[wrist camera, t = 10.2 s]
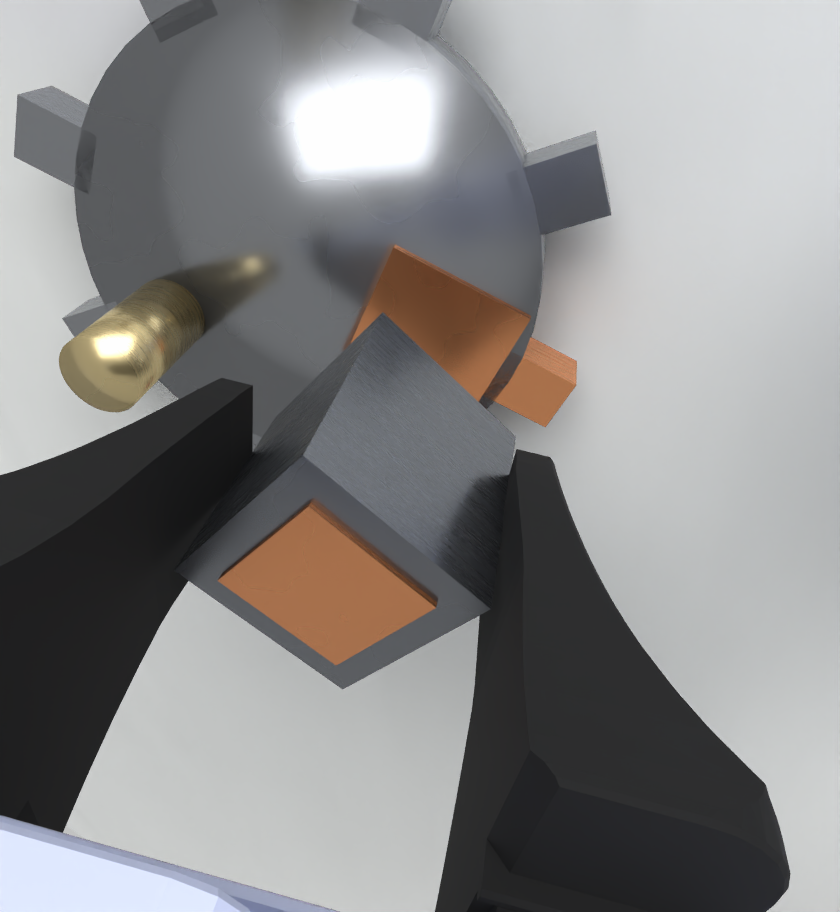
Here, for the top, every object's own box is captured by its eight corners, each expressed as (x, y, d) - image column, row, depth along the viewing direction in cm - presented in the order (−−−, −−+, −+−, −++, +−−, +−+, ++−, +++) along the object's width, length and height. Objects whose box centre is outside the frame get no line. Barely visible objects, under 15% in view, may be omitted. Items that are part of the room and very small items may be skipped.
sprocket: (513, -272, 11) (479, -375, 7) (656, 431, 18) (674, 547, 14) (-70, 54, 16) (-255, 84, 12) (222, 508, 23) (157, 609, 19)
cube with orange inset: (515, 436, 13) (490, 614, 10) (398, 520, 15) (341, 694, 12) (382, 312, 12) (299, 459, 9) (274, 417, 14) (171, 575, 11)
